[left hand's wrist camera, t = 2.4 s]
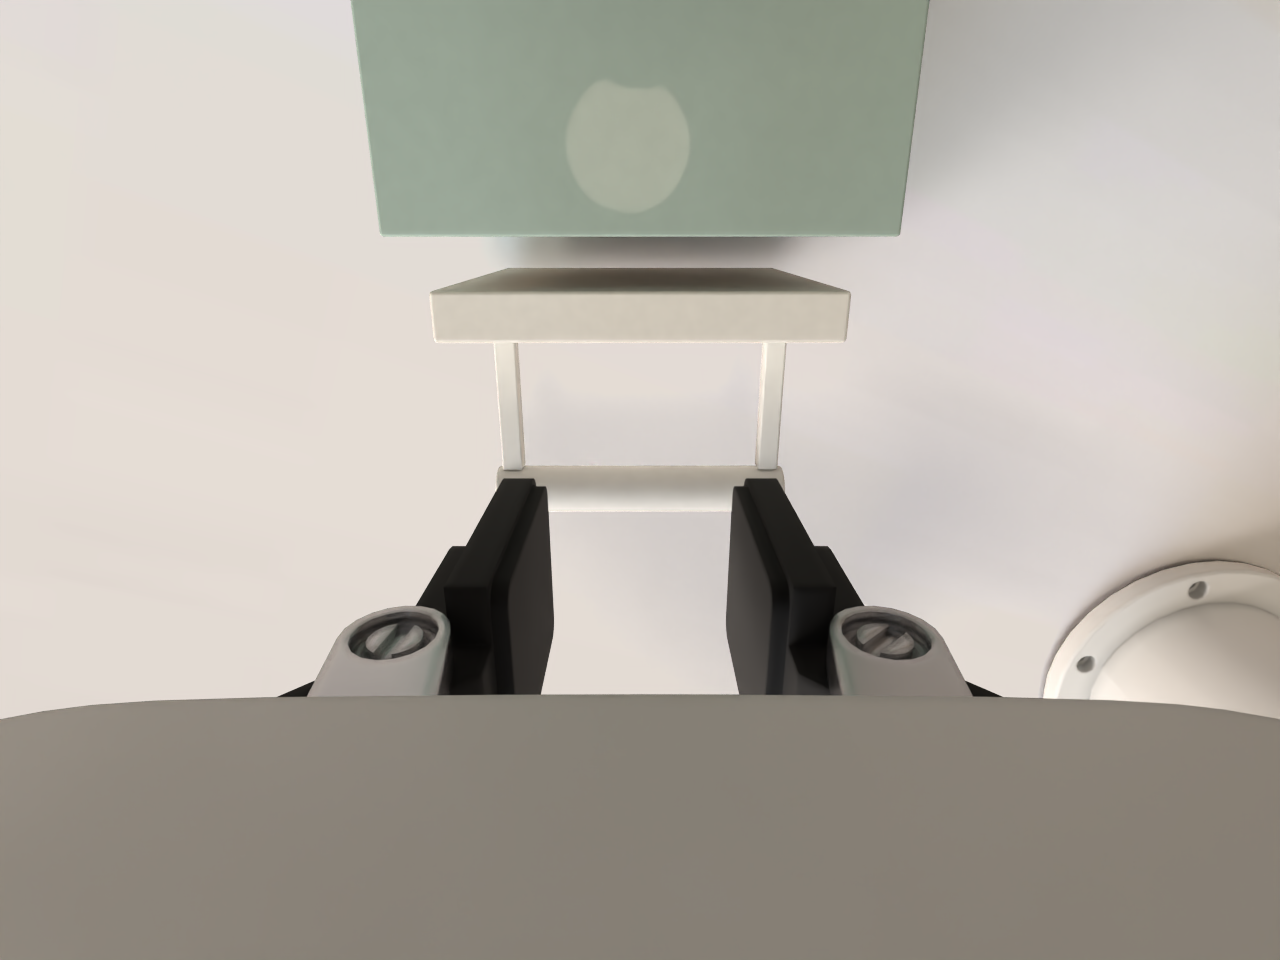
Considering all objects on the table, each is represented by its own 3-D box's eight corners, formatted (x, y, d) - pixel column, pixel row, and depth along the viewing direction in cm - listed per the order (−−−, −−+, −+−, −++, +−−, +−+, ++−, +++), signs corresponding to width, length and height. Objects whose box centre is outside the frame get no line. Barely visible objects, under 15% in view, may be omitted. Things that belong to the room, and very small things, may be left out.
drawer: (762, 447, 27) (824, 558, 18) (518, 447, 27) (456, 558, 18) (805, -215, 20) (945, -588, 11) (473, -215, 20) (333, -588, 11)
